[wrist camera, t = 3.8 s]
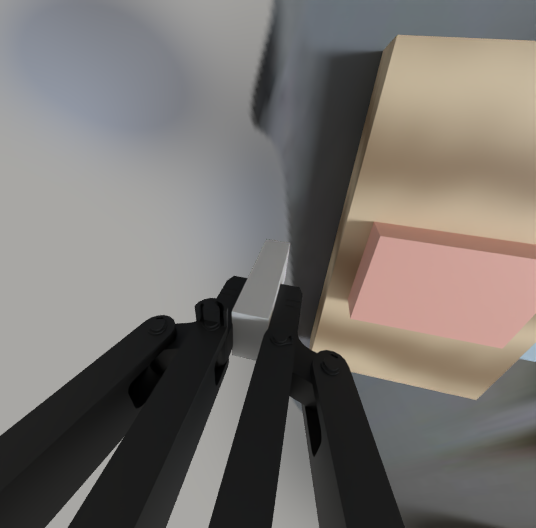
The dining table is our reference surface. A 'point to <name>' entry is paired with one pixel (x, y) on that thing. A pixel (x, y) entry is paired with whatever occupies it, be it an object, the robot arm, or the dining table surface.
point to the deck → (437, 194)
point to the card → (445, 284)
